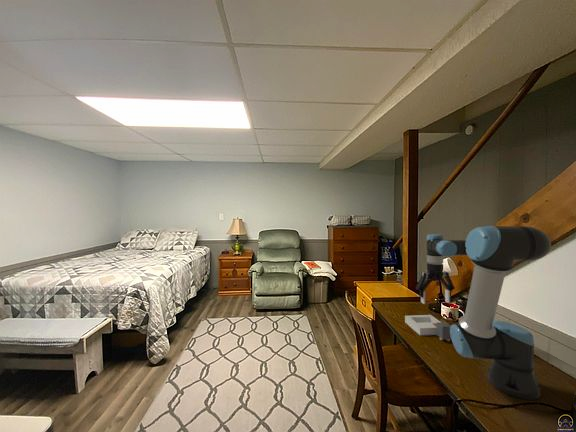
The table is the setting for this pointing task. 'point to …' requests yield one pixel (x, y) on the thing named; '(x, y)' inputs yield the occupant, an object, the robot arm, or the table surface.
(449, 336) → the plug
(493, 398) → the table surface
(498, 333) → the robot arm
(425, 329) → the socket plate
